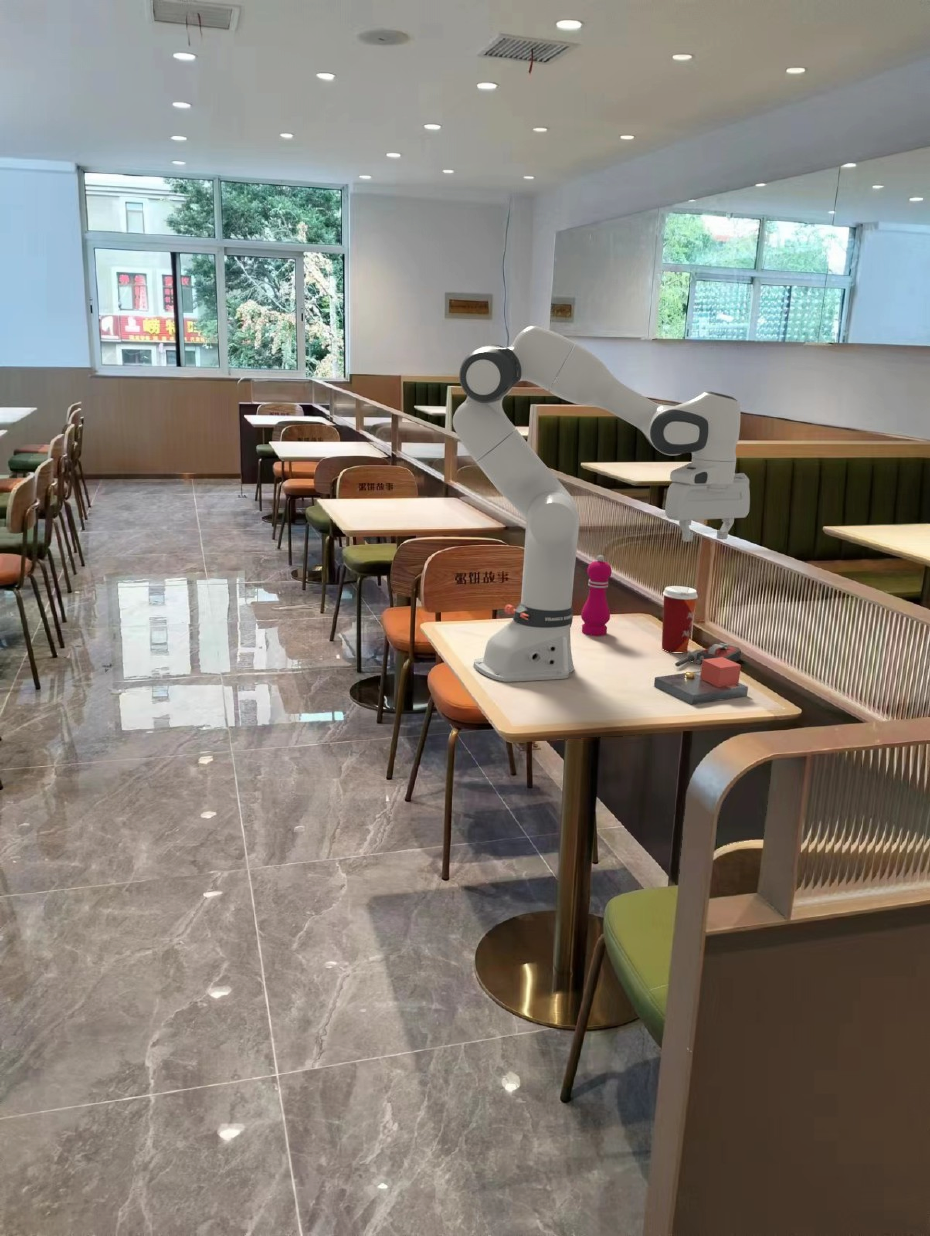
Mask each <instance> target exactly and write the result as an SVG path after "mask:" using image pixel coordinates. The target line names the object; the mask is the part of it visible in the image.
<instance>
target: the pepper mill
mask: <svg viewBox="0 0 930 1236" xmlns="http://www.w3.org/2000/svg"><path fill="white" fill-rule="evenodd" d="M604 560H605V557H604V555H603V554H599V555H597V557H596V561H592V562H591V563H590V564H589V565H588V567H587V570H586V572H587V573H586V574H587V576H588V577H589V579H588V584H587V585H588V586H589V592H588V597H587V600H586V602H585V603H584V605H583V607H582V610H581V614H580V617H581V619H582V622H583V624H582V625H581V633H583V634H584V635H588V636H593V637H601V636H605V635H606V634H608V633H607V632H608V626H607V625H606V624H607V623H608V622H609V621H610V619H611V611H610V607H609V606H608V601H607V596H606V593H607V592H606V591H607V588H608V587H609V579H610V578H611V576H612V567H611V565H610V564H609V563H608V562H606V561H604Z"/></svg>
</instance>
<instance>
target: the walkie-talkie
mask: <svg viewBox="0 0 930 1236" xmlns="http://www.w3.org/2000/svg"><path fill="white" fill-rule="evenodd" d="M741 652H742V650H741V648H740V647H738V646H734V645H730V644H727V643H722V642H720V643H719V644H718V643H717V644H716V643H714V644H712V645H710V646H708V648H706V649H705V648H704V649H703V648H702V649H700V648H698V649H695V650H693V651H689V652H688V653H687V657H686V658H683V659H680V660H679V661H676V662H675V664H674V666H676V667H681V666H683V665H685V664H688V662H691V661H693V662H692V663H695V662H696V663H695V664H697V665H701V664H702V660H704V659H711V658H719V657H724V658H726V659H728V660H730V661H733V662H735V663H737V661H740V660H741V656H742V655H741V654H742V653H741Z"/></svg>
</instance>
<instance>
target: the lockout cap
mask: <svg viewBox="0 0 930 1236" xmlns="http://www.w3.org/2000/svg"><path fill="white" fill-rule="evenodd" d="M741 667H742V665H741V664H739V663H737V662H733V661H730V660H728V659H726V658H724V657H719V658H711V659H704V660H702V665H701V669H700V671H701V674H700V679H702V680H704V681H706V682H708V683H711V684H713V685H715V686H717V687H722V686H729V685H736V684H738V683H740V676H741Z"/></svg>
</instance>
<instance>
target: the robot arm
mask: <svg viewBox="0 0 930 1236" xmlns="http://www.w3.org/2000/svg"><path fill="white" fill-rule="evenodd" d="M458 377H459V383H460V386H461V389H462V390H463V392H464V393H465V394H466V395H467V396H466V399H465V401H464V402H462V403H461V404H460V405H459V406H458V407H457V408H456V410H455V413H454V414H453V417H452V426H453V430H454V431H455V433H456V435H457V437H458V439H459V440H460V442H461V444H462V445H463V447H464V448H465V450H466V451H467V453H468V454H469V456H470V458H472V459H473V460H474V462H475V464H476V465H477V466H478V467H479V468H480V470H481V472H483V473H484V475H485V476H486V477H487V478H488V480H489V481H490V482H491V483H492V485H493V486H494V487H495V489H496V490H497V491H498V492H499V494H501V495H502V496H503V497H504V498H505V499H506V500H507V501H508V502H509V503H510V505H512V506H513V508H514V509H515V510H516V511H517V512H518V513H519V515H521V517H522V518H523V520H524V521H525V533H524V534H525V536H524V537H525V538H524V553H523V567H522V569H523V570H522V582H521V583H522V585H521V596H520V597H521V599H520V602H519V603H518V605H517V607H516V606H513V605H512V604H506V605H505V606H504V612H505V614H509V615H511V616H512V620H511V621H509V623H507V624H506V625H504V627H502V628H501V629H500V630H499V631H497V632H496V633H495V634H494V635H492V636H491V637H490V638H489V639H488V640H487V642H486V645H485V651H484V653H483V657H479V658H475V659H474V660H473V667H474V668H475V669H476V671H477V672H479V673H480V674H482V675H484V676H486V677H488V678H491V679H493V680H496V681H500V682H506V683H508V682H509V683H510V682H527V681H542V680H544V681H546V680H547V681H548V680H560V679H561V680H562V679H568V678H569V677H570V674H571V672H573V671H574V669H575V665H574V660H573V655H572V644H571V627H572V623H573V618H574V606H573V605H572V603H573V593H574V592H573V590H574V578H575V569H576V568H575V567H576V558H577V549H578V540H579V533H580V531H579V530H580V515H579V514H580V513H579V512H578V511H579V510H578V506H577V504H576V501H575V499H574V498H573V497H572V495H571V494H570V493H569V491H568V490H567V489H566V487H564V485H563V484H562V483H561V482H560V480H559V479H558V478H557V477H556V476H555V475H554V474H553V472H552V471H551V469H550V468H548V467H547V465H546V464H545V463H544V462H543V460H541V458H540V457H539V455H537V453H536V452H535V451H534V449H533V448H532V447H531V445H530V444H529V443H528V442H527V440H526V439H525V438H524V437H523V435H522V434H521V433H520V432H519V430H518V429H517V427H516V426H515V425H514V424H513V422H512V421H510V419H509V418H508V416H507V414H506V413H505V411H504V408H503V402H504V400H505V399H506V398H507V396H508V394H509V393H510V392H511V391H512V389H513V388H514V386H516V384H518V382H529V383H531V384H535V385H536V386H537V387H539V388H542V389H543V390H545V391H547V392H549V393H550V394H551V395H554V396H555V397H557V398H560V399H562V400H565V401H567V402H570V403H572V404H575V405H579V406H587V407H588V406H589V407H594V408H599V409H602V410H605V411H607V412H609V413H611V414H613V415H615V416H616V417H618V418H619V419H622V420H623V421H624V422H625V421H626V423H629V424H631V425H632V426H634V427H635V428H637V429H638V430H639V431H640V432H641V433H642V434H643V435H644V437H645V438H646V440H647V442H648V443H649V444H650V445H651V446H652V447H653V448H654V449H655V450H657V451H659V453H662V454H664V455H667V456H679V455H682V454H690V453H691V461H690V462H689V463H688V464H687V463H686V464H685V465H683V466H681V467H678V468H675V469H673V470H671V471H670V474H669V480H670V481H671V482H672V483H670V484H669V487H668V488H667V492H666V493H667V494H666V499H665V507H664V508H665V509H664V513H665V516H666V518H667V519H669V520H673V521H678V524H679V527H680V530H681V532H682V534H681V536H682V537H681V539H682V541H683V542H686V543H687V542H693V541H694V536H695V535H694V532H691V529H690V526H692V521H697V520H719V519H720V520H721V522H723V523H722V525H721V527H720V529H718V530H717V531H716V539H718V540H727V539H728V535H729V531H730V530H731V528H732V526H733V525H734V522H735V519H740V518H746V517H747V516H748V514H749V512H750V508H751V507H750V505H751V494H750V491H751V490H750V479H749V477H748V476H747V475H746V474H745V473H744V472H739V473H736V472H735V471H736V465H737V464H736V463H737V454H736V448H737V444H738V443H739V440H740V439H739V438H740V431H741V430H740V429H741V405H740V403H739V402H738V400H737V399H736V398H734V397H733V396H732V395H727V394H724V393H719V392H714V391H710V390H708V391H703V392H702V393H701V394H699V395H697V396H696V397H694V398H693V399H690V400H688V401H685V402H682V403H680V404H678V405H677V404H673V403H671V404H670V403H659V402H656V401H653V400H651V399H650V398H648V397H646V396H644V395H642V394H641V393H639V392H637V391H635V390H634V389H632V388H630V387H629V386H627V385H625V384H623V383H622V382H621V381H620V380H618V379H617V377H615V376H614V374H612V373H611V371H610V370H609V369H608V367H607V366H606V365H605V363H604V362H603V361H602V360H601V359H599V358H598V357H597V356H596V355H595V354H593V352H591V351H589V349H586V348H585V347H583V346H582V345H581V344H579V343H577V342H576V341H574V340H571V339H570V338H568V337H567V336H566V337H565V336H564V335H561V334H560V333H558V332H555V331H552V330H549V329H547V328H544V327H541V326H538V325H529V326H527V327H526V328H524V329H522V330H521V331H520V332H519V333H518V334H517V336H516V337H515V339H514V340H513V342H512V343H511V344H510V345H509V346H508V347H504V346H502V345H499V344H486V345H482V346H478V347H477V348H475V349H473V350H472V351H471V352H470V353H469V354H468V355H467V356H466V357H465V358H464V359H463V360H462V362H461V365H460V368H459V376H458Z"/></svg>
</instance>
